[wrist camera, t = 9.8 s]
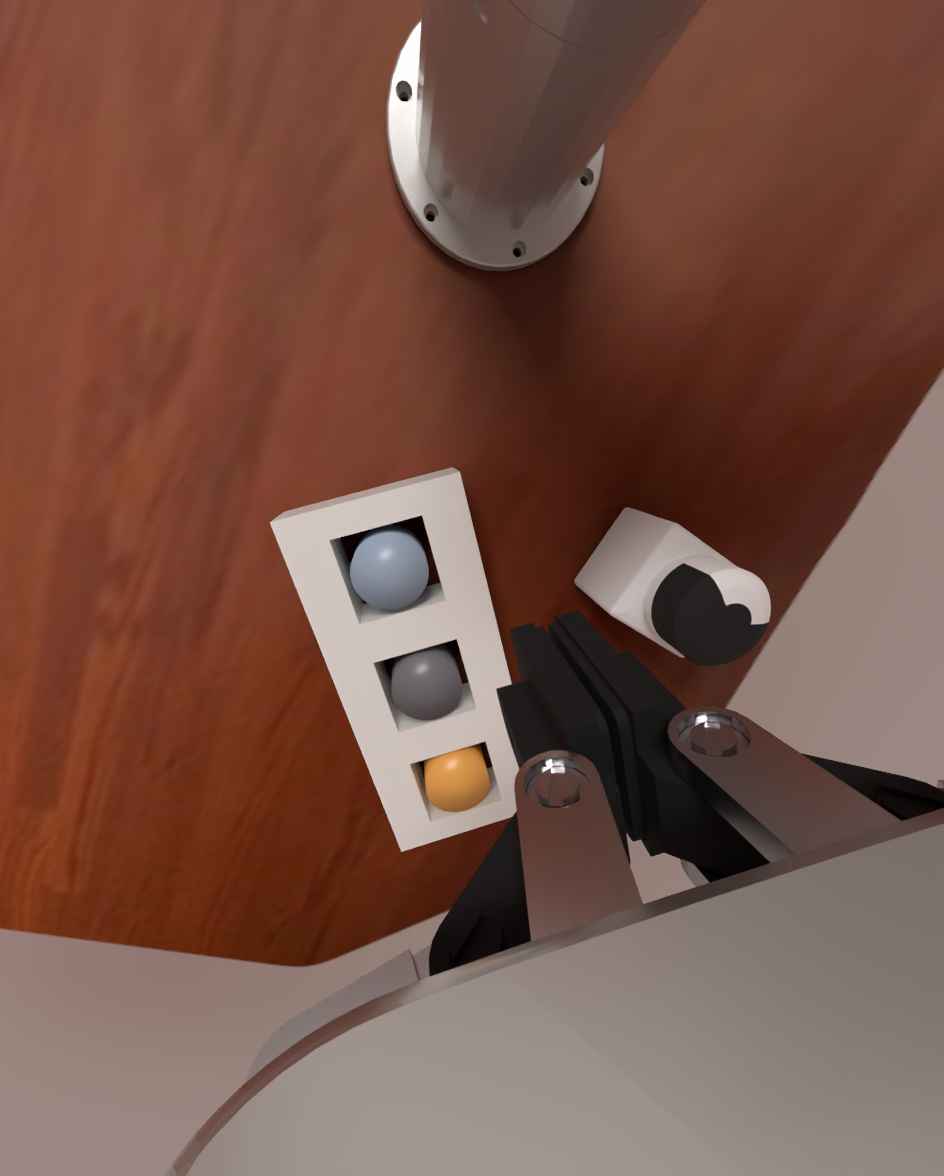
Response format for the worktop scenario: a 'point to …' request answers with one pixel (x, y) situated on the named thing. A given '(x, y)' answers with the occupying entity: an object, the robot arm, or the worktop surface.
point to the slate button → (389, 567)
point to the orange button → (457, 779)
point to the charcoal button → (426, 682)
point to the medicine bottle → (676, 590)
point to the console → (407, 646)
